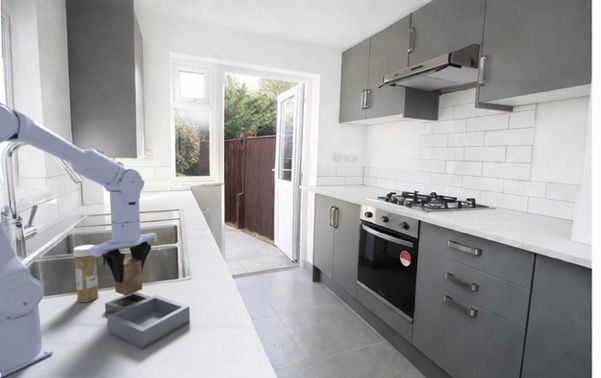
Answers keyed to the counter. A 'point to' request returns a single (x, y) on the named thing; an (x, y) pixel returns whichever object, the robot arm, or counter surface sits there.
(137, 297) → the socket collar
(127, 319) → the tray
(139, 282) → the brown wooden block
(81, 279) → the sprinkles bottle
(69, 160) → the robot arm
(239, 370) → the counter surface
